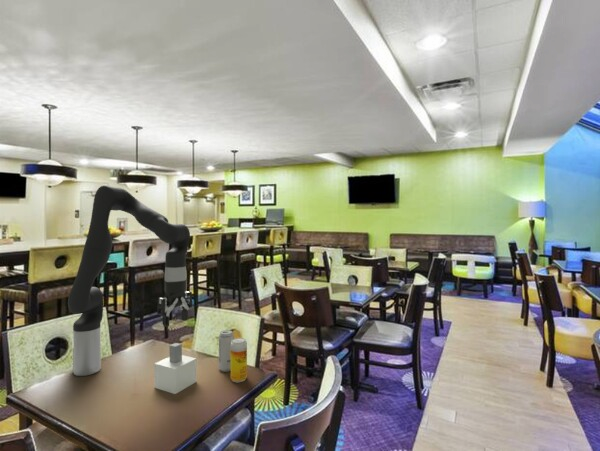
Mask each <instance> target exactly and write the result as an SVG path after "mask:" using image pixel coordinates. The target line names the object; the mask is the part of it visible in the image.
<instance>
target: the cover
mask: <svg viewBox="0 0 600 451" xmlns="http://www.w3.org/2000/svg"><path fill="white" fill-rule="evenodd" d="M168 347H169V356H168V357H166V358H163V359H162V360H161V359H160V360H158V361H156V362H155V363H154V364H153V365H154V389H157V390H161V391H164V392H168V393H170V394H173V395H176V394H179V393H180V392H181V391H183V390H185V389H187V388H189V387H190V386H192V385H193V384H196V383H197V358H196V357H192V356H188V355H184V354H183V346H182V343H179V342H174V343H172V344H170V345H169V346H168Z"/></svg>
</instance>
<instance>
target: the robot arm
mask: <svg viewBox="0 0 600 451" xmlns="http://www.w3.org/2000/svg"><path fill="white" fill-rule="evenodd" d="M112 211H122V212H124V213H127V214H130V215H131V216H133V217H134V219H135V220H136V221H137V223H138V224H139V225H140V226H142V227H144V228H146V229H147V230H148V231H150V232H152V233H153V234H155V235H156V237H157V238H158V239H160V240H161V241H162V242H164V243H166V244H167V245H168V244H170V245H172V247H171V248H170V250H168V251H167V252H166V253H165V261H164V262H165V264H164V266H165V268H164V292H165V296H164V297H158V298H157V308H156V310H157V313H156V314H157V316H162V317H161V318H162V326H163V327H166V328H168V327H170V313H171V312H172V311H173V309H174V308H177V307H180V308H181V320H182V321H188V317H189V309H190V308H192V307H193V292H192V291H187V283H188V282H187V280H188V279H187V275H188V274H187V273H188V272H187V267H186V266H187V258H186V257H187V256H186V255H187V252H188V249H189V248H188V247H189V244H190V240H191V233H190V232H191V231H190V229H189V227H188V226H186V224H183V223H182V224H181V223H180V224H178V223H175V224H173V223H170V222H169V220H168V218H167V216H164V215H163V214H161V213H159V212H158V211H155V210H154V209H152V208H150V207H149V206H147V205H145V204H144V203H142V202H141V201H140V200H138V199H137V198H136V197H135V196H134V195H133V194H131V193H130V192H129V191H127V189H125V188H122V187H119V186H113V185H112V186H111V185H101V186H100V187H98V188H97V190H96V191H95V194H94V198H93V204H92V210H91V217H90V223H89V228H88V232H87V237H86V239H85V243H84V246H83V250H82V254H81V259H80V263H79V267H78V270H77V273H76V276H75V279H74V282H73V284H72V287H71V289H70V292H69V293H68V294H69V295H68V297H67V298H68V299H67V306H68V310H69V311H70V312H71V313H72V314H74V315H80V314H81V315H80V317H79V318H77V320H75V321H74V322H73V325H72V330H73V332H72V333H73V336H72V337H73V338H72V339H73V340H72V342H73V344H72V345H73V348H72V372H73V375H74V376H77V377H85V376H90V375H93V374H96V373H97V372H99V371H101V368H102V363H101V362H102V356H101V355H102V354H101V353H102V352H101V351H102V350H101V349H102V348H101V345H102V344H101V342H102V340H101V323H102V320H103V317H104V316H103V315H104V296H103V293H102V291H101V289H100V288H98V287H96V286H93V284H94V283H95V280H96V278H97V277H98V275H99V274H100V273H101V272H102V270H103V269H104V268H105V266H106V265H107V263H108V261H109V260H110V256H111V253H112V249H113V238H112V235H111V231H110V229H109V219H110V214H111V212H112Z"/></svg>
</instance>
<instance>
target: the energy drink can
mask: <svg viewBox="0 0 600 451" xmlns="http://www.w3.org/2000/svg"><path fill="white" fill-rule="evenodd" d="M232 339H235V335H234V334H233V330H228V329H226V330H222V331H220V333H219V336H218V368H219V370H220V372H225V373H227V372H231V342H232Z"/></svg>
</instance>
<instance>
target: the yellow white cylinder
mask: <svg viewBox="0 0 600 451" xmlns="http://www.w3.org/2000/svg"><path fill="white" fill-rule="evenodd" d="M247 377H248V342H247V340H246V338H244V337H234V339H232V342H231V371H230V380H231V381H232V382H233V383H243V382H245V381H246V379H247Z"/></svg>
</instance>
